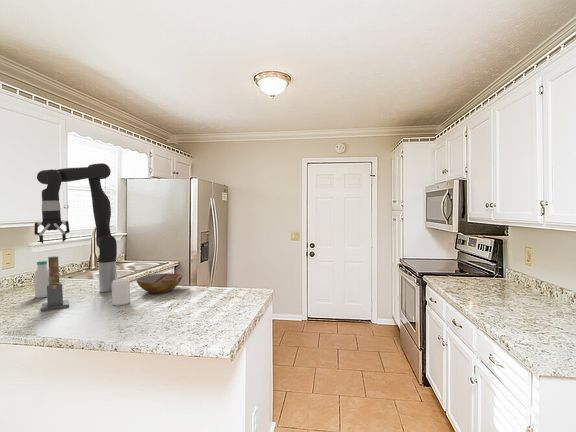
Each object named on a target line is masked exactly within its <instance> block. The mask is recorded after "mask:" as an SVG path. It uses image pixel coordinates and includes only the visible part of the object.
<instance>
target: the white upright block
mask: <svg viewBox="0 0 576 432" xmlns="http://www.w3.org/2000/svg"><path fill="white" fill-rule="evenodd" d="M130 283H131V282H130V280H129V279H128V278H118V279H117V280H113V282H112V291H111V302H112V305H113V306H117V307H118V306H124V305H127V304H130V302H131V291H130V290H131V287H130V285H131V284H130Z"/></svg>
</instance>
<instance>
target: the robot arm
mask: <svg viewBox="0 0 576 432" xmlns="http://www.w3.org/2000/svg"><path fill="white" fill-rule="evenodd" d="M110 175H111V167H110V166H109V165H108V164H106V163H104V162H103V163H101V162H99V163H98V162H97V163H91V164H89V165H88V166H84V167H83V166H82V167H81V166H79V167H66V168H59V169H43V170H41V171H39V172H38V173H37V175H36V179H37V181H38V182H39V183H40V184H43V185H46V187H45V188H44V189H42V190H41V216H42V217H41V218H42V219H41V221H42V222H37V221H36V222H34V230H33V231H34V235H35V236H39V242H40V243H41V244H44V234H45V233H46V231H57V230H58V231H59V232H60V233H61V238H62V239H61V240H62V243H64V242H65V241H66V239H67V236H66V235H67V234H69V233H70V231H71V230H70V224H69V221H68V220H66V221H62V218H61V217H62V216H61V215H62V214H61V209H62V208H61V203H60V194H59V193H60V189H61V185H62V183H68V182H75V181H81V180H86V179H87V180H88V184H89V189H90V194H91V195H90V196H91V202H92V211H93V219H94V224H95V230H96V231H95V232H96V234H95V235H96V236H95V240H96V241H95V242H96V246H97V248H98V249H99V252H98V253H99V256H98V260H97V261H98V262H97V263H98V284H99V292H100V293H109V292H112V282H113V280H117V279H119V278H118V272H117V255H118V250H117V249H118V246H117V239H116V238H115V236H113V235H112V233H111V227H110V224H111V223H110V222H111V217H112V208H111V201H110V199H109V196H108V195H107V194H106V192H104V190H103V187H102V184H101V180H105V179H108V178H109V177H110ZM62 225H63V226H65V229H66V230H64V229H63V228H61V226H62ZM41 226H42V227H43V229H42V230H41V231H40V232H39V230H38V229H39V227H41Z"/></svg>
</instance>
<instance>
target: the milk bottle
mask: <svg viewBox="0 0 576 432" xmlns="http://www.w3.org/2000/svg"><path fill="white" fill-rule="evenodd" d="M36 265H37V268H36V271H35V273H34V277H33V281H34V282H33V283H34V284H33V285H34V297H35V299H36V298H37V299H40V298H47V284H49V267H48V261H47V260H39V261H37V262H36Z"/></svg>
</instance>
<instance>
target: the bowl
mask: <svg viewBox="0 0 576 432" xmlns="http://www.w3.org/2000/svg"><path fill="white" fill-rule="evenodd" d="M182 279H183V274H182V273H174V272H173V273H172V272H171V273H170V272H169V273H168V272H167V273H156V274H150V275H149V274H148V275H143V276H141V277H138V278H136V280H135V281H136V283H137V285H138V286H139V287H140V288H141V289H142V290H143V291H146V292H147V293H148V294H152V295H153V294H154V295H157V294H165V293H169V292H171V291H172V290H173V289H175V288H177V286H178V285H179V284H180V282H181V281H182Z"/></svg>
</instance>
